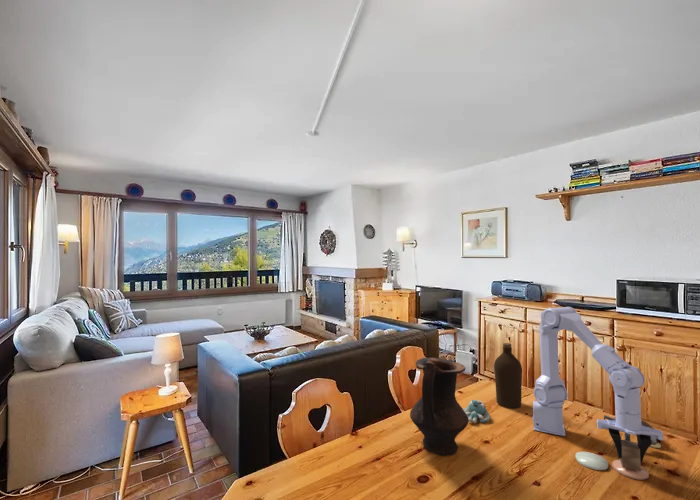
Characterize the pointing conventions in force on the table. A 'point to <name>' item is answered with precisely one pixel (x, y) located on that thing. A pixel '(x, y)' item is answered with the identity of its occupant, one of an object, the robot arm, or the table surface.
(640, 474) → the pink disc
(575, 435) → the table surface
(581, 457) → the sage dish
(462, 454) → the table surface
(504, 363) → the olive oil
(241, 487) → the table surface
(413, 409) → the jug
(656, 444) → the balance
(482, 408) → the stuffed animal
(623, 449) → the walnut block
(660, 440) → the brick
